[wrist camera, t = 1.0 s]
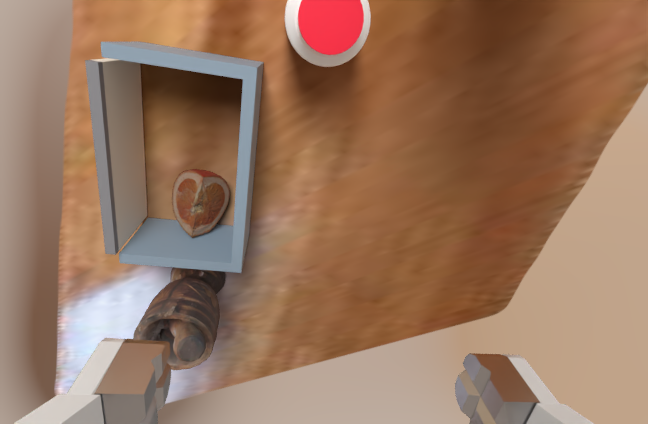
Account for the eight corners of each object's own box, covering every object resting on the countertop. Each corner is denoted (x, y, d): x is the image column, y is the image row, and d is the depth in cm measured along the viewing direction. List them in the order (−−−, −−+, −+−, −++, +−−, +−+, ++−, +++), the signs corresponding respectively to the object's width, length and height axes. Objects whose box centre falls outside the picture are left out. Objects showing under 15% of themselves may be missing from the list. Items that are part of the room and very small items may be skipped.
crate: (140, 41, 39) (100, 41, 31) (263, 62, 41) (257, 67, 33) (148, 225, 48) (119, 263, 40) (249, 235, 50) (241, 272, 42)
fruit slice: (223, 225, 49) (216, 244, 45) (171, 213, 48) (159, 231, 43) (237, 169, 46) (231, 183, 41) (182, 154, 45) (170, 167, 40)
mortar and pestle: (177, 224, 48) (110, 332, 30) (241, 239, 50) (214, 350, 32) (164, 292, 53) (100, 421, 35) (223, 303, 55) (191, 432, 37)
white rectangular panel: (130, 56, 39) (85, 60, 31) (140, 57, 39) (98, 62, 31) (139, 214, 47) (105, 253, 38) (147, 215, 47) (115, 254, 39)
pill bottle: (364, 48, 41) (387, 50, 31) (300, 72, 42) (303, 82, 32) (343, -29, 38) (362, -54, 28) (274, -2, 38) (269, -16, 28)
